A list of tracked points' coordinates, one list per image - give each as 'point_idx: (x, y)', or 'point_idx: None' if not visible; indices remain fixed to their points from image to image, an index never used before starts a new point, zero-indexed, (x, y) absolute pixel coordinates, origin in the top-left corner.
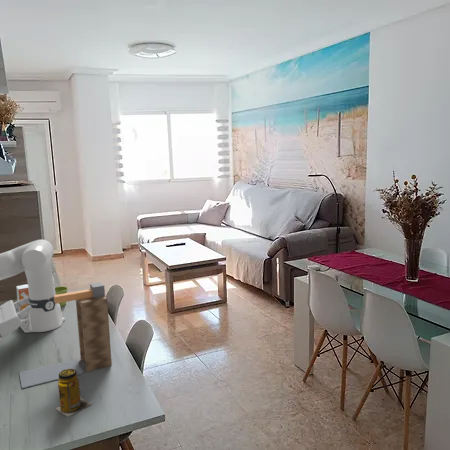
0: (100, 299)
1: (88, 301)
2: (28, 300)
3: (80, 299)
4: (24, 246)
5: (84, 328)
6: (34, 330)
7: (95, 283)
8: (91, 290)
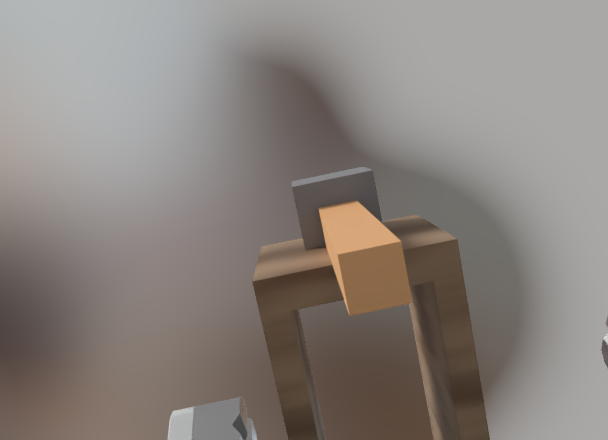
0: (423, 219)
1: (438, 231)
2: (250, 419)
3: None
4: None
5: (482, 401)
6: None
7: (302, 182)
8: (350, 201)
